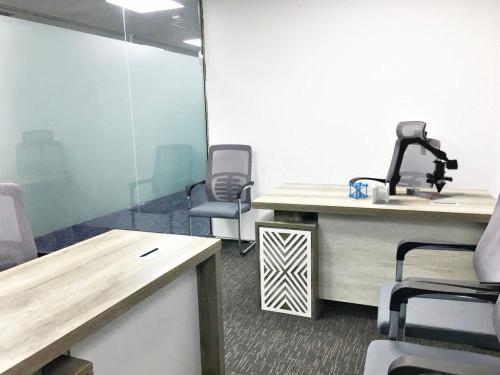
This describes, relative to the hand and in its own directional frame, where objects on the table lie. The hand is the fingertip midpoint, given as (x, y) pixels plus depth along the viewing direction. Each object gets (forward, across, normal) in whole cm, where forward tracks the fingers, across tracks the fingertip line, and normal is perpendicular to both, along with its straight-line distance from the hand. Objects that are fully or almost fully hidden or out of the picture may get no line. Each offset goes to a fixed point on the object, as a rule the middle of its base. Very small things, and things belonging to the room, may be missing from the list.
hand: (438, 192), depth 273 cm
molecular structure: (+2, +47, -25) cm, 54 cm away
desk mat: (+2, +7, -2) cm, 8 cm away
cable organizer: (+2, +45, -6) cm, 46 cm away
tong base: (+1, +13, -3) cm, 14 cm away
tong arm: (+1, +7, -3) cm, 8 cm away
